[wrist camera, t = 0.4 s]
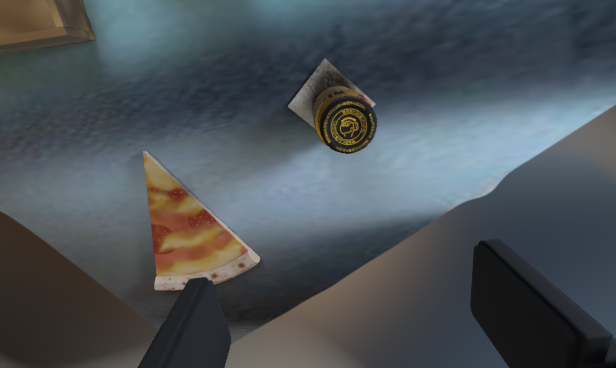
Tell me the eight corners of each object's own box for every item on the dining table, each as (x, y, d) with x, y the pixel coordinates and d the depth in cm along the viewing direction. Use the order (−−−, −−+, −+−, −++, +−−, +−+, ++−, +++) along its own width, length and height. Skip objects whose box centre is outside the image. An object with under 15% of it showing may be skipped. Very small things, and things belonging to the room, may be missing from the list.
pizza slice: (264, 160, 40) (261, 164, 38) (258, 291, 48) (256, 300, 46) (146, 150, 39) (138, 154, 37) (160, 285, 47) (154, 293, 45)
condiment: (337, 147, 39) (351, 176, 28) (287, 106, 37) (280, 120, 26) (375, 103, 37) (406, 116, 26) (324, 58, 35) (334, 50, 24)
